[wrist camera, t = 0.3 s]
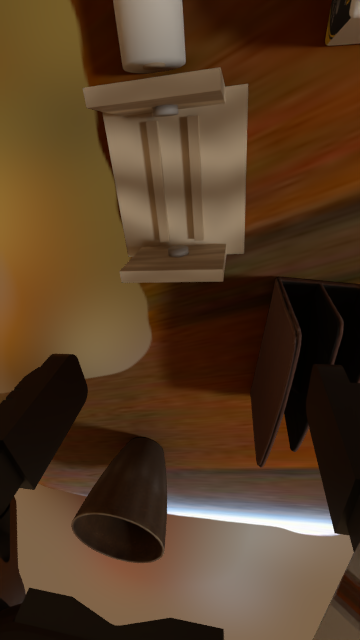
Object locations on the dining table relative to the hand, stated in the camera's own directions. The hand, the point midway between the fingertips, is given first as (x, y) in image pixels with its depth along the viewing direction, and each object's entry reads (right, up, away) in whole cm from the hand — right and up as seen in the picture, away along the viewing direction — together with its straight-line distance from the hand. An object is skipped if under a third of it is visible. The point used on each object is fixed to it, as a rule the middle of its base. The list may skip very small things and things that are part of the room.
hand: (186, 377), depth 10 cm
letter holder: (+16, -1, +31) cm, 35 cm away
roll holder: (0, +17, +22) cm, 28 cm away
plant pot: (-7, -24, +49) cm, 55 cm away
